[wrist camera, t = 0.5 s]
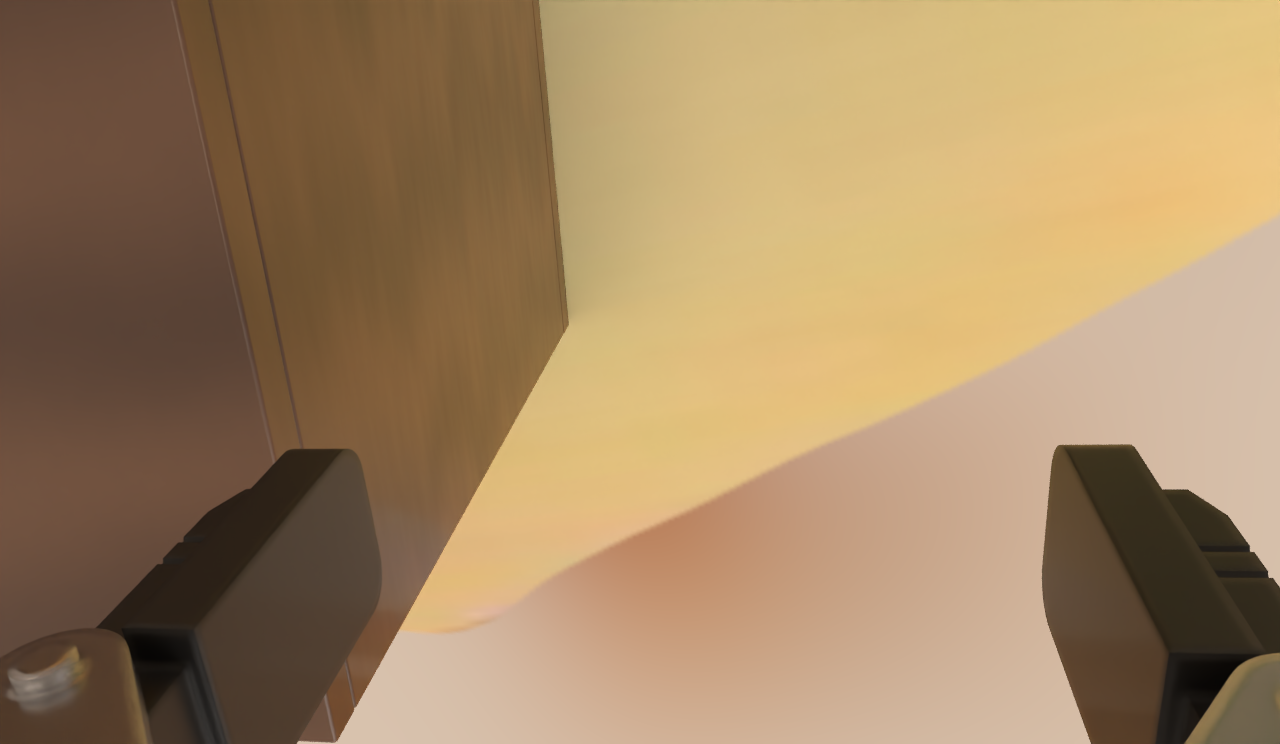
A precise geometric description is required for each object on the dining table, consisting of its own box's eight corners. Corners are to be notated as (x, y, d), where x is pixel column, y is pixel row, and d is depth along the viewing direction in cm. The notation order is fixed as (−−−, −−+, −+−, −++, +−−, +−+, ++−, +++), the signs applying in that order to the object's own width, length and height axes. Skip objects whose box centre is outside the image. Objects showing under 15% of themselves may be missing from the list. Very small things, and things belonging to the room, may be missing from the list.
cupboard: (-149, -115, 40) (-1316, -169, 18) (523, -170, 36) (104, -326, 14) (-7, 332, 46) (-721, 694, 24) (568, 325, 43) (336, 743, 21)
